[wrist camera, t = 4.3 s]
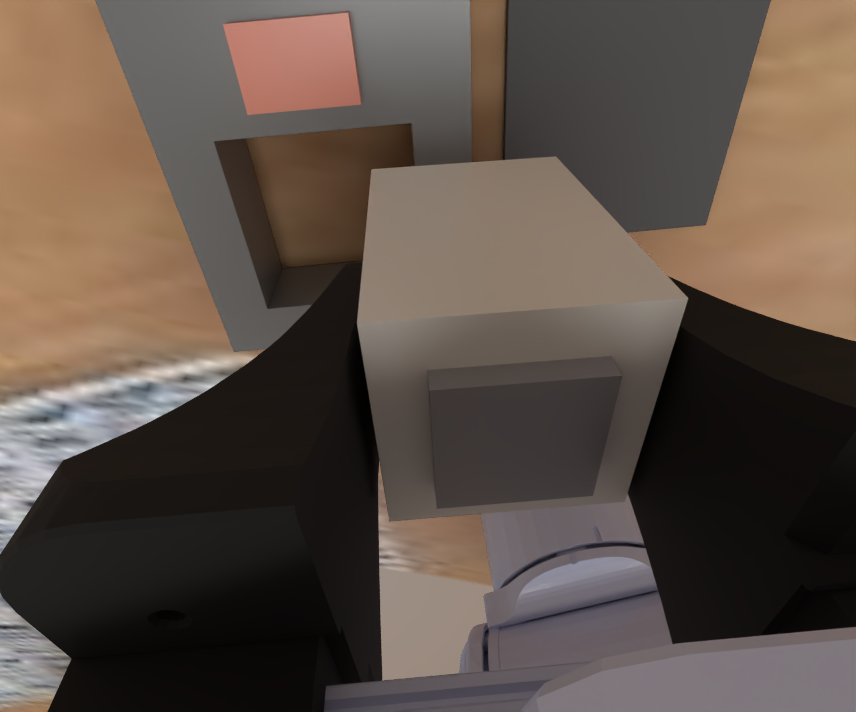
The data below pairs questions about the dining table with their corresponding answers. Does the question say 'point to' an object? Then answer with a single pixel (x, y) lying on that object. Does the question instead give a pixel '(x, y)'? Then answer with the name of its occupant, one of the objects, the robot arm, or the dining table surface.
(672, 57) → the mat
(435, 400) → the plug
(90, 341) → the dining table surface
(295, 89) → the strip
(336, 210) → the dining table surface
